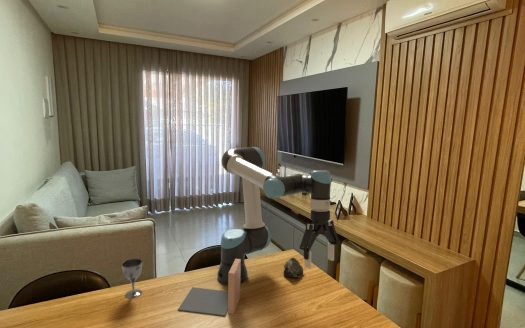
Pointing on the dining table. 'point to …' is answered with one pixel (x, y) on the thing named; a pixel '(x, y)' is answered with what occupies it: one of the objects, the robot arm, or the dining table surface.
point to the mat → (206, 301)
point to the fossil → (293, 268)
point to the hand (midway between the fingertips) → (319, 263)
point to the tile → (234, 286)
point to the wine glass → (132, 275)
